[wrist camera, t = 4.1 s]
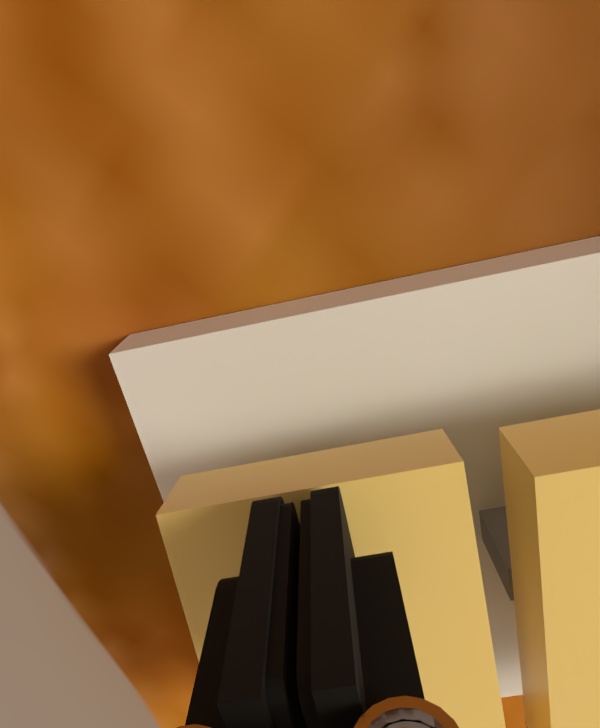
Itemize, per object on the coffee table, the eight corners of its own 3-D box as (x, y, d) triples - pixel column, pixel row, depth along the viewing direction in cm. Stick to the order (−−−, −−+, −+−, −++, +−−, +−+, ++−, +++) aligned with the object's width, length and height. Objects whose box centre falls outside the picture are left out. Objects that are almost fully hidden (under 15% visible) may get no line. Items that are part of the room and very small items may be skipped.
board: (129, 334, 14) (70, 389, 11) (1053, 140, 12) (1363, 129, 9) (253, 686, 19) (240, 805, 16) (928, 592, 17) (1092, 704, 13)
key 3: (180, 476, 12) (152, 520, 10) (442, 428, 11) (466, 465, 9) (267, 786, 14) (257, 875, 12) (496, 758, 13) (526, 848, 11)
